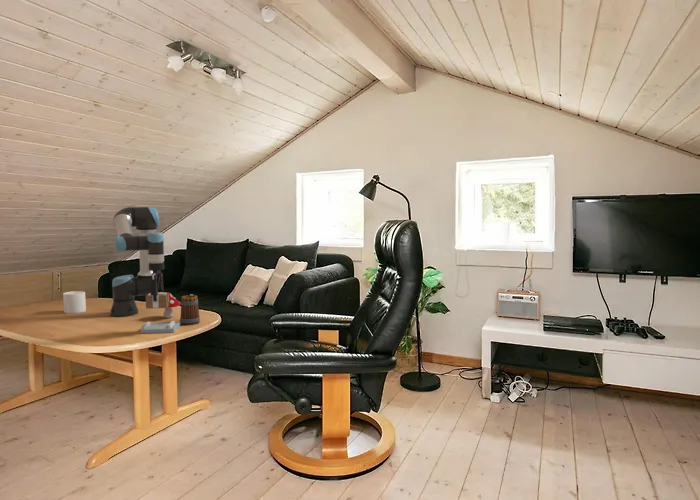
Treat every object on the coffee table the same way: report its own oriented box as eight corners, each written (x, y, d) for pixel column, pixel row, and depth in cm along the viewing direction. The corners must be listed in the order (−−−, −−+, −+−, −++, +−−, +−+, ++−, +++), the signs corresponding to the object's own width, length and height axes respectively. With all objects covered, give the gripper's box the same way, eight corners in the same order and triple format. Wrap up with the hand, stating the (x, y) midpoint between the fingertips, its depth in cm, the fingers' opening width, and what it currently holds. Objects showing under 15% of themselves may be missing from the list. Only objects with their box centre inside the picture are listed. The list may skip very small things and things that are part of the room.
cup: (83, 308, 293) (82, 290, 292) (88, 311, 284) (87, 292, 283) (62, 311, 285) (61, 292, 284) (66, 314, 276) (65, 295, 275)
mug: (198, 324, 250) (197, 297, 249) (178, 325, 249) (177, 298, 248) (202, 318, 266) (202, 292, 265) (183, 319, 264) (183, 293, 263)
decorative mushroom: (178, 313, 278) (177, 289, 276) (184, 318, 266) (183, 292, 265) (153, 316, 270) (152, 291, 269) (158, 321, 258) (157, 295, 257)
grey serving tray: (149, 326, 247) (149, 320, 247) (180, 325, 249) (180, 319, 249) (140, 333, 232) (140, 326, 232) (173, 332, 235) (173, 325, 234)
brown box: (149, 305, 241) (148, 292, 241) (169, 305, 243) (168, 292, 242) (145, 308, 234) (145, 295, 234) (166, 307, 236) (166, 294, 236)
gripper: (154, 260, 246) (155, 302, 248) (142, 264, 226) (144, 310, 228) (168, 260, 247) (170, 302, 249) (158, 264, 227) (160, 309, 229)
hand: (157, 306), depth 239 cm, fingers closed on brown box, 7 cm apart
